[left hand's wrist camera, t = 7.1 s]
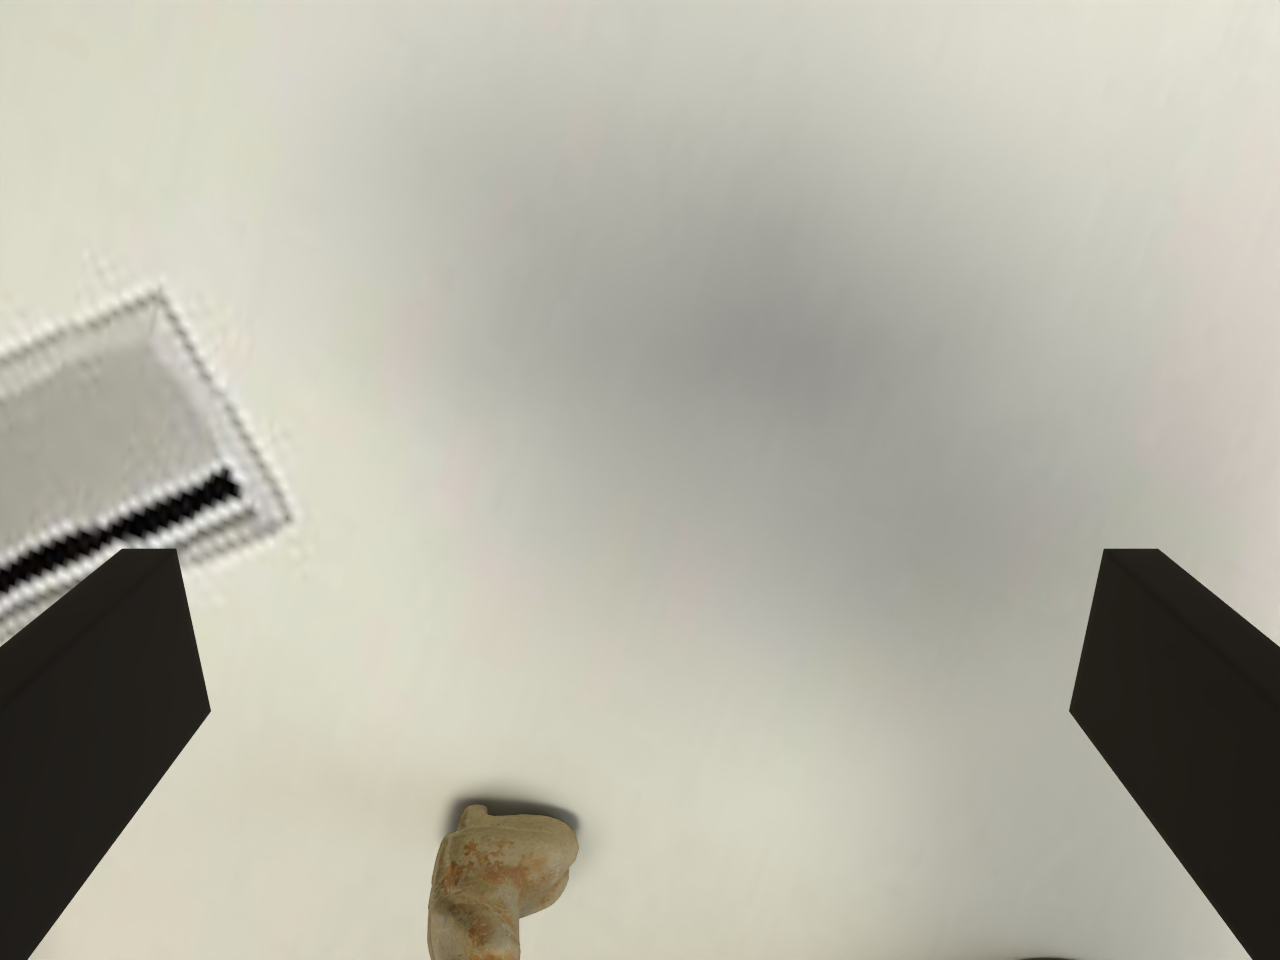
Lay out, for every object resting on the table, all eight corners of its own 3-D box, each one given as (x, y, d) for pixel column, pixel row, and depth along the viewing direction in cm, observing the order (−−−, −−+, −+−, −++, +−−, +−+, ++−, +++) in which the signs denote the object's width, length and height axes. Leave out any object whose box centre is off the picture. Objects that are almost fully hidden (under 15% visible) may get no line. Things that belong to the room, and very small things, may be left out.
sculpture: (560, 886, 50) (529, 1176, 36) (436, 856, 49) (355, 1141, 35) (589, 808, 48) (567, 1083, 34) (460, 776, 47) (383, 1044, 33)
